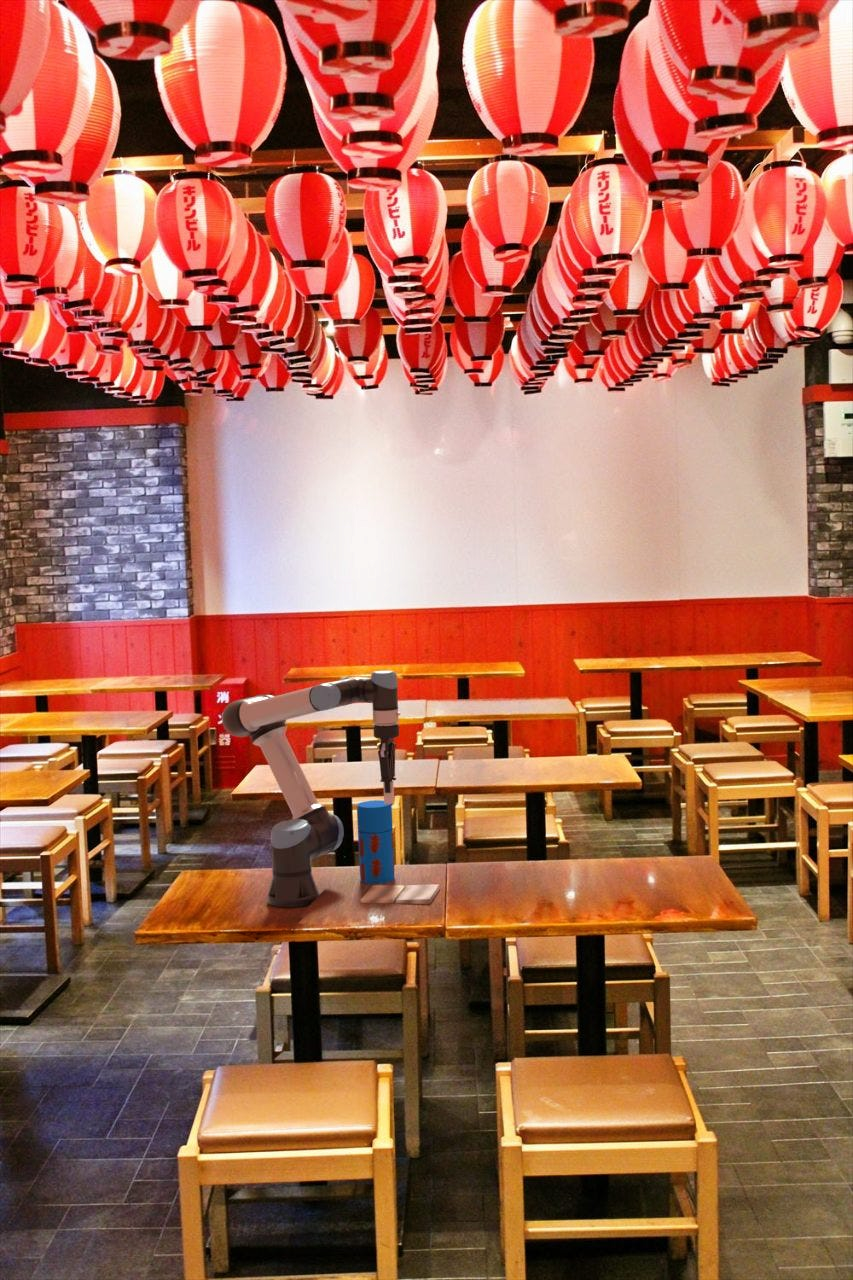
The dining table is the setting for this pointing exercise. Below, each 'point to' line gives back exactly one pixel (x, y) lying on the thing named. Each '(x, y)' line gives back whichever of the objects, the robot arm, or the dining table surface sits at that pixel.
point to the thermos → (375, 842)
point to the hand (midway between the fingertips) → (389, 802)
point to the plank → (418, 894)
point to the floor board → (382, 894)
